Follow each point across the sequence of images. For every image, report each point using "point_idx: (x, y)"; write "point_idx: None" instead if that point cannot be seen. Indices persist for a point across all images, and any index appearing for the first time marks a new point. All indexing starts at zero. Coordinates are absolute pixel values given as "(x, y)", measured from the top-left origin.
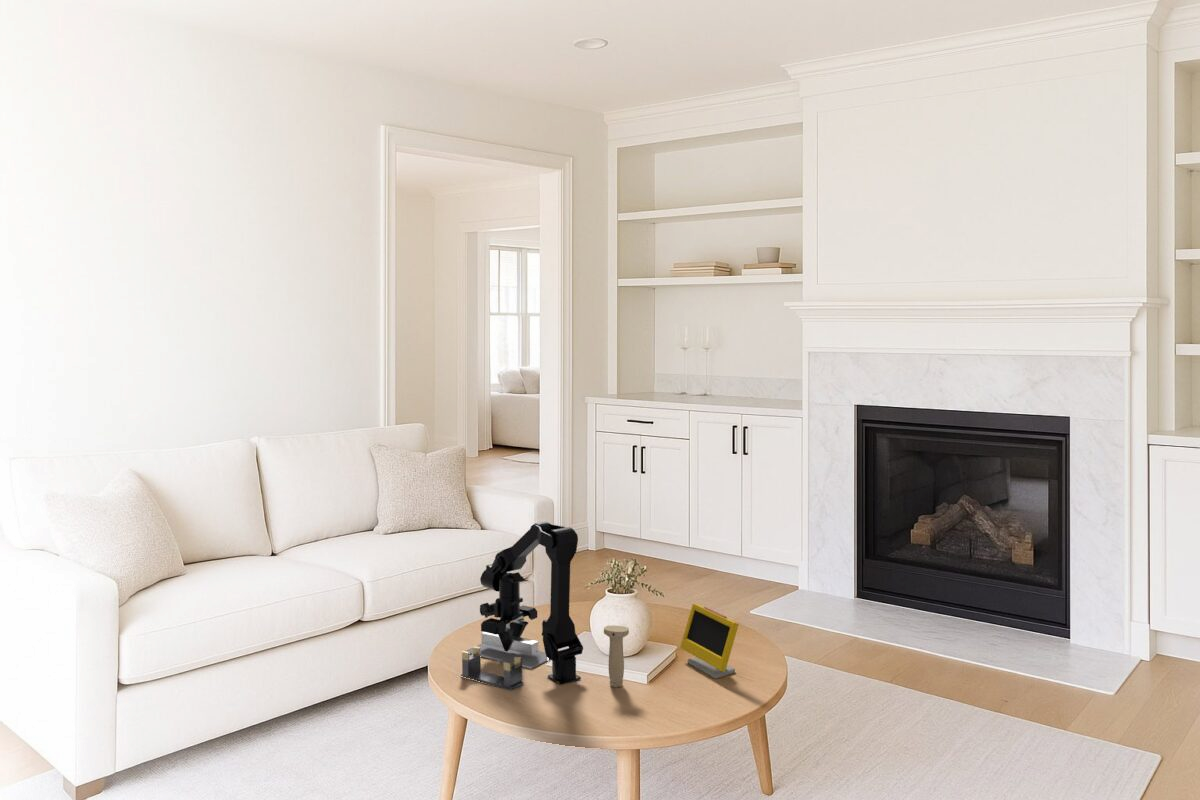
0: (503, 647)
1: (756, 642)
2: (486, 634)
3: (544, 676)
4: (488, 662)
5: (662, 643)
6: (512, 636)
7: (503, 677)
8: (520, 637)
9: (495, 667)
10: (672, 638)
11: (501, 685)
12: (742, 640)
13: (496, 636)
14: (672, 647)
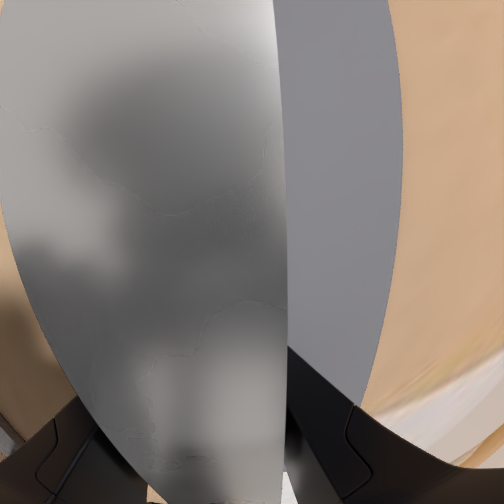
0: None
1: (476, 466)
2: (4, 22)
3: (148, 497)
4: (5, 295)
5: (478, 446)
6: (252, 466)
7: (15, 446)
8: (278, 497)
9: (17, 370)
10: (499, 432)
11: (3, 452)
12: (484, 459)
13: (36, 313)
14: (459, 463)
